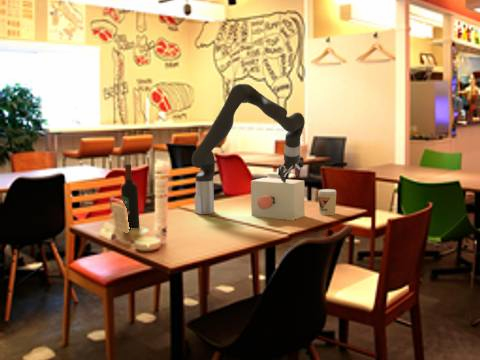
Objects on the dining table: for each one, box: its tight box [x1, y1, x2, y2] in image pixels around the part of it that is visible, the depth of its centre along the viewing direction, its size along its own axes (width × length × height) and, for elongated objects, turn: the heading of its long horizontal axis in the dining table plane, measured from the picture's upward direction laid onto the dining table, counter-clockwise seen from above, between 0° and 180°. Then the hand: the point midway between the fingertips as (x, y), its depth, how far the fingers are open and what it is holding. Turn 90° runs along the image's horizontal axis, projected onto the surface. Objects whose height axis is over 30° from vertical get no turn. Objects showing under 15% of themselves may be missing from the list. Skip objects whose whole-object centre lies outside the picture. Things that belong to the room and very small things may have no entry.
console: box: [250, 177, 306, 221], centre depth 280 cm, size 12×24×18 cm, turn 56°
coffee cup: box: [317, 188, 337, 216], centre depth 283 cm, size 9×9×12 cm
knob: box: [257, 195, 275, 210], centre depth 272 cm, size 10×6×6 cm, turn 146°
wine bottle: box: [120, 163, 140, 230], centre depth 261 cm, size 8×8×30 cm
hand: (290, 178), depth 275 cm, fingers open, 8 cm apart
